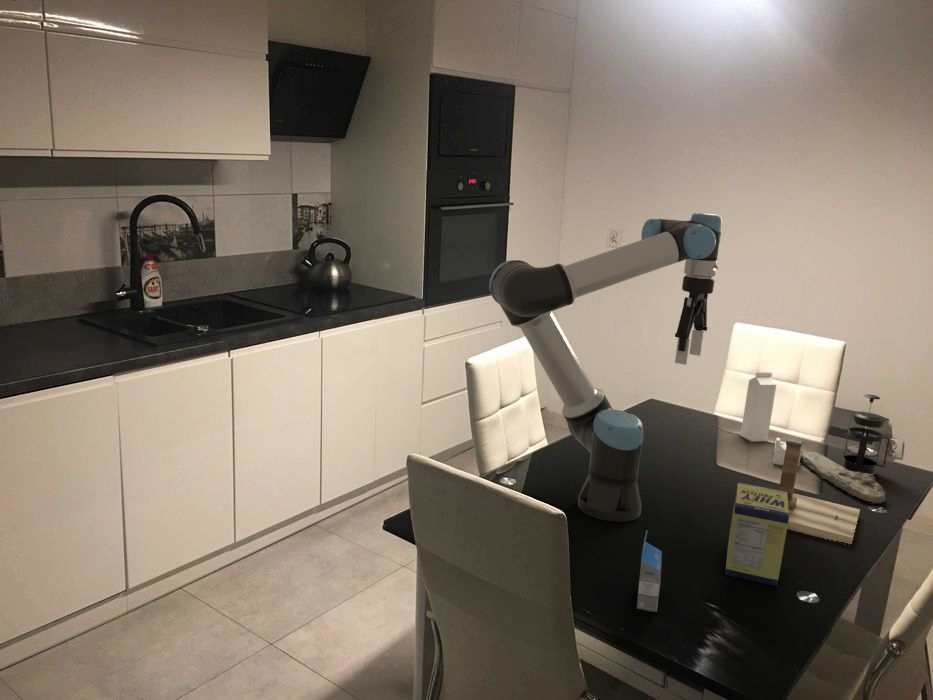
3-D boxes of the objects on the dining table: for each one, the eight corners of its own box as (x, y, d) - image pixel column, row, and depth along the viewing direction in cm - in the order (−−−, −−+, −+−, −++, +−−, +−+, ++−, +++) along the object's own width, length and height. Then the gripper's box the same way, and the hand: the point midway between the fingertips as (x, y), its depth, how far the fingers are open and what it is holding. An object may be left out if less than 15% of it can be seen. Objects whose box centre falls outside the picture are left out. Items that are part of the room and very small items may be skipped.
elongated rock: (819, 463, 243) (788, 464, 242) (820, 446, 242) (790, 448, 241) (897, 505, 209) (862, 507, 208) (899, 485, 208) (864, 487, 207)
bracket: (798, 469, 233) (802, 444, 231) (772, 464, 235) (776, 440, 234) (798, 455, 245) (802, 432, 243) (774, 451, 247) (777, 428, 245)
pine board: (851, 545, 183) (852, 537, 183) (756, 520, 193) (757, 513, 193) (858, 516, 200) (860, 509, 200) (771, 495, 210) (772, 488, 210)
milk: (767, 441, 256) (778, 375, 251) (751, 441, 254) (762, 375, 249) (755, 435, 261) (766, 370, 256) (739, 435, 260) (750, 370, 255)
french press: (836, 471, 233) (850, 395, 228) (839, 462, 241) (853, 388, 236) (881, 481, 227) (896, 403, 222) (883, 471, 235) (897, 396, 230)
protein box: (776, 555, 176) (787, 489, 172) (777, 587, 161) (790, 516, 158) (727, 545, 179) (737, 480, 176) (724, 575, 165) (735, 505, 161)
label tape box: (656, 613, 148) (665, 552, 146) (634, 608, 150) (642, 548, 147) (658, 590, 157) (666, 532, 154) (637, 586, 158) (645, 529, 155)
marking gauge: (792, 510, 196) (804, 445, 192) (771, 505, 198) (782, 440, 194) (795, 504, 200) (807, 440, 196) (775, 499, 202) (785, 435, 199)
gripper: (701, 282, 187) (689, 370, 191) (725, 274, 208) (714, 353, 212) (670, 278, 190) (659, 364, 195) (696, 270, 211) (686, 349, 216)
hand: (687, 359), depth 204 cm, fingers open, 13 cm apart
